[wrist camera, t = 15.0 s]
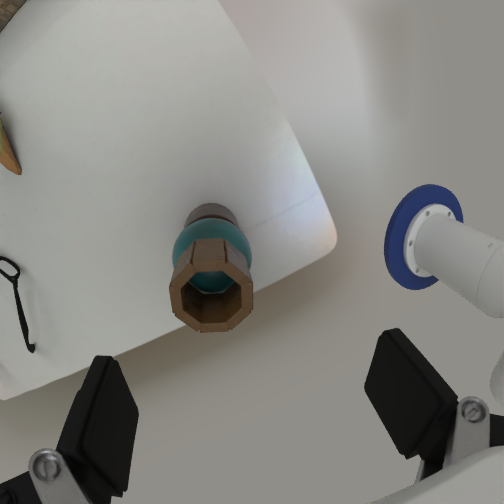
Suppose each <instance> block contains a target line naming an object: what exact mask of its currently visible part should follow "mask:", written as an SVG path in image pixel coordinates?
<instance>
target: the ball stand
mask: <svg viewBox="0 0 504 504" xmlns="http://www.w3.org/2000/svg"><path fill="white" fill-rule="evenodd" d="M214 238H223V241H224V240H225V239H226V240H227V241H229V242H230V243H231V244H232V245H233V246H234V247H235V248H237V249H238V250H239V251H240V252H241V253H242V254H243V255H244V256H245V258H246V260H247V264H248V267H249V271H250V267H251V260H252V255H251V249H250V245H249V242H248V240H247V238H246V237H245V235H244V234H243V232H242V231H241V230H240V229H239V227H238V225H237V222H236V219H235V217H234V215H233V214H232V212H231V211H230V210H229V209H227V208H226V207H224V206H222V205H219V204H215V203H208V204H203V205H201V206H199V207H197V208H196V209H194V210H193V211H192V212H191V213H190V215H189V216H188V218H187V221H186V224H185V227H184V230H183V231H182V232H181V234H180V235H179V237H178V238H177V240H176V242H175V245H174V249H173V255H172V261H173V267H174V268H175V265H176V262H177V259H178V257H179V256H180V255H181V254H182V253H183V252H184V251H185V250H186V249H187V248H188V246H189V245H190V244H191V243H192V242H193V241H195V242H196V240H197V239H214ZM188 282H189V283H190V284H191V285H193V286H194V287H195V288H196V289H198V290H199V291H200V292H201V293H203V294H211V293H224V292H225V291H226V290H227V289H228V288H229V287H230V286H231V285H232V284H233V283H234V282H235V281H234V280H233V279H232V278H230V277H229V276H228V275H227V274H226V273H224V272H223V271H213V272H196V273H195V274H194V275H193V277H192V278H191V279H190V280H189V281H188Z"/></svg>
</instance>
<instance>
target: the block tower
mask: <svg viewBox="0 0 504 504" xmlns="http://www.w3.org/2000/svg"><path fill="white" fill-rule="evenodd" d="M24 2H25V0H0V32H1V30H2V29H3V28H4V26H5V25H6V24H7V22H8V21H9V20H10V19H11V18H12V17H13V15H14V14H15V13H16V12H17V10H18V9H19V8H20V7H21V6H22V5H23V4H24Z"/></svg>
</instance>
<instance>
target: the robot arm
mask: <svg viewBox="0 0 504 504" xmlns="http://www.w3.org/2000/svg"><path fill="white" fill-rule="evenodd" d="M403 254H404V260H405V263H406V265H407V267H408V269H409V270H410V271H411V272H412V273H414V274H415V275H417V276H419V277H429V276H432V275H433V276H435V277H436V278H437V279H439V280H440V281H442V282H443V283H445V284H446V285H447V286H449V287H450V288H451V289H453V290H454V291H456V292H457V293H459V294H460V295H461V296H462V297H464V298H465V299H466V300H468V301H469V302H471V303H472V304H473V305H475V306H476V307H477V308H478V309H480V310H481V311H482V312H484V313H485V314H486V315H488V316H490V317H493V318H504V242H503V241H501V240H499V239H497V238H494V237H492V236H490V235H488V234H486V233H484V232H482V231H479V230H477V229H475V228H473V227H470V226H468V225H466V224H463V223H461V222H459V221H456V219H455V216H454V214H453V213H452V211H451V210H450V209H449V208H448V207H446V206H444V205H441V204H435V203H434V204H429V205H427V206H425V207H424V208H422V209H421V210H420V211H419V212H418V213H417V214H416V215H415V216H414V218H413V219H412V221H411V223H410V225H409V227H408V229H407V232H406V235H405V239H404V245H403ZM364 389H365V392H366V394H367V396H368V398H369V400H370V401H371V403H372V405H373V406H374V408H375V410H376V412H377V413H378V415H379V417H380V419H381V421H382V422H383V424H384V426H385V428H386V430H387V431H388V433H389V435H390V437H391V438H392V440H393V442H394V444H395V446H396V448H397V449H398V451H399V453H400V454H402V455H404V456H405V458H406V459H409V458H412V457H414V456H416V455H418V454H419V455H420V457H421V461H420V466H419V469H418V473H417V476H416V480H415V483H414V484H413V485H411V486H409V487H407V488H405V489H402V490H400V491H398V492H396V493H393V494H391V495H389V496H386V497H384V498H381V499H379V500H376V501H374V502H371V503H368V504H504V416H500V415H494V414H490V413H489V409H488V407H487V405H486V403H485V402H484V401H483V400H481V399H479V398H477V397H466V398H463V399H462V400H461V401H460V402H458V401H457V398H458V396H457V395H456V394H455V393H454V391H453V390H452V389H451V388H450V386H449V385H448V384H447V383H446V382H445V381H444V379H443V378H442V377H441V376H440V375H439V373H438V372H437V371H436V370H435V369H434V367H433V366H432V365H431V364H430V363H429V362H428V361H427V359H426V358H425V357H424V356H423V355H422V354H421V352H420V351H419V350H418V349H417V348H416V347H415V346H414V345H413V343H412V342H411V341H410V340H409V339H408V338H407V337H406V336H405V334H404V333H403V332H402V331H401V330H400V329H399V328H394V329H390V330H385V331H384V332H383V333H382V335H381V336H379V338H378V341H377V345H376V349H375V352H374V356H373V359H372V362H371V366H370V369H369V372H368V375H367V378H366V382H365V385H364ZM490 389H491V392H492V394H493V396H494V398H495V399H496V400H497V402H498V403H499V404H500V405H501V406H502V407H504V352H503V354H502V356H501V357H500V359H499V361H498V362H497V364H496V366H495V368H494V370H493V372H492V375H491V379H490ZM138 417H139V413H138V408H137V406H136V403H135V401H134V399H133V397H132V394H131V392H130V390H129V388H128V385H127V383H126V381H125V378H124V376H123V374H122V371H121V368H120V366H119V363H118V361H116V360H114V359H113V357H112V356H99V355H97V356H95V358H94V359H93V362H92V364H91V366H90V369H89V371H88V373H87V375H86V378H85V380H84V383H83V385H82V387H81V389H80V390H79V391H78V392H77V394H76V396H75V399H74V401H73V404H72V406H71V409H70V411H69V414H68V417H67V419H66V422H65V425H64V427H63V430H62V433H61V436H60V439H59V442H58V444H57V447H56V450H53V449H41V450H38V451H37V452H35V453H34V454H33V455H32V456H31V458H30V461H29V466H28V468H29V471H27V472H25V473H23V474H21V475H19V476H17V477H15V478H13V479H10V480H8V481H6V482H3V483H1V484H0V504H110V503H111V496H116V497H122V495H123V491H124V492H126V491H127V488H128V480H129V474H130V466H131V459H132V452H133V445H134V440H135V434H136V428H137V423H138Z"/></svg>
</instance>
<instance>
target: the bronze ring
mask: <svg viewBox="0 0 504 504" xmlns="http://www.w3.org/2000/svg"><path fill="white" fill-rule="evenodd" d="M213 271H223V272H224V273H226V274H227V275H228V276H229V277H230V278H232V279H233V280H234V281H235V282H234V283H233V284H232V285H231V286H230V287H229V288H228V289H227V290H226V291H225V292H224V293H211V294H203V293H201V292H200V291H199V290H198V289H196V288H195V287H194V286H193V285H191V284H190V283H189V282H188V281H189V280H190V279H191V278H192V277H193V275H194V274H195V273H196V272H213ZM169 292H170V299H171V305H172V311H173V313H175V316H176V317H177V318H178V319H180V320H181V321H183V322H184V323H185V324H187V325H188V326H190V327H191V328H192V329H194V330H195V331H198V330H200V332H201V333H204V332H225V331H229V329H231V330H232V329H233V328H234V327H235V326H237V325H238V324H239V323H240V322H241V321H242V320H243V319H244V318H245V317H247V315H249V314H250V313H251V310H253V282H252V278H251V275H250V271H249V267H248V264H247V260H246V258H245V256H244V255H243V254H242V253H241V252H240V251H239V250H238V249H237V248H235V247H234V246H233V245H232V244H231V243H230V242H229V241H227V240H226V239H225V240H224V241H223V238H214V239H197V240H196V242H195V241H193V242H192V243H191V244H190V245H189V246H188V248H187V249H186V250H185V251H184V252H183V253H182V254H181V255H180V256H179V257H178V259H177V262H176V265H175V268H174V272H173V275H172V278H171V282H170V285H169Z"/></svg>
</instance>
